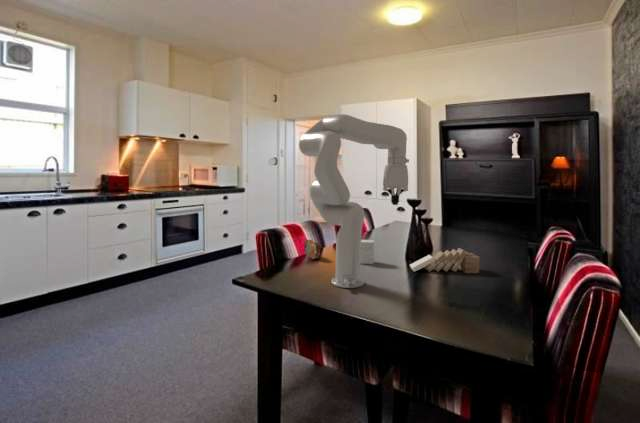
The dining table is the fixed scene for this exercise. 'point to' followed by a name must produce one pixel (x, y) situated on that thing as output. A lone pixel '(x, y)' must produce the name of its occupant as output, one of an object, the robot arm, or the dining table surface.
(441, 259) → the domino
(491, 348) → the dining table surface
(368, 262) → the small box
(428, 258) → the domino
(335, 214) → the robot arm
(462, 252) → the domino
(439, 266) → the domino
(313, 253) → the tin
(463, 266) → the end block
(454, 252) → the domino
